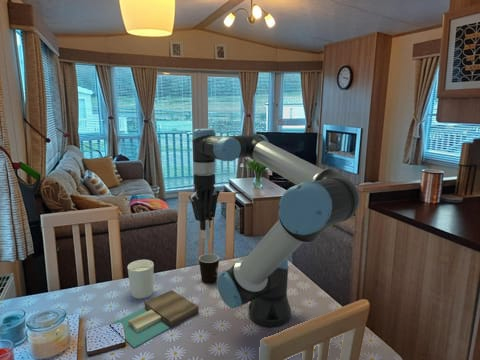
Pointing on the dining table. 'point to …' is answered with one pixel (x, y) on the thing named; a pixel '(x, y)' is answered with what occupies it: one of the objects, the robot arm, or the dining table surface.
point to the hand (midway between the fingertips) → (205, 237)
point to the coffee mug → (209, 267)
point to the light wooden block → (144, 321)
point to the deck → (172, 308)
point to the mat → (142, 336)
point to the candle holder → (141, 278)
